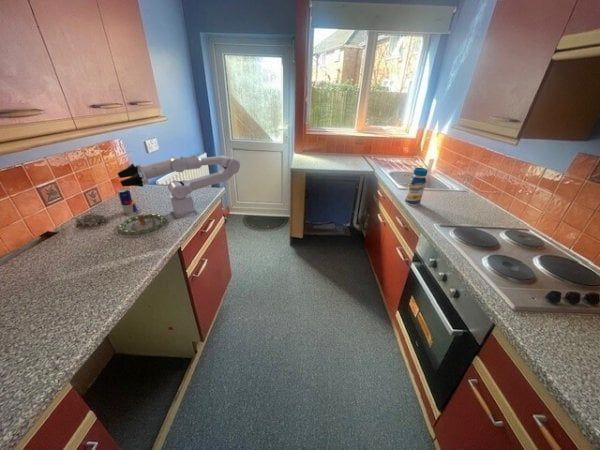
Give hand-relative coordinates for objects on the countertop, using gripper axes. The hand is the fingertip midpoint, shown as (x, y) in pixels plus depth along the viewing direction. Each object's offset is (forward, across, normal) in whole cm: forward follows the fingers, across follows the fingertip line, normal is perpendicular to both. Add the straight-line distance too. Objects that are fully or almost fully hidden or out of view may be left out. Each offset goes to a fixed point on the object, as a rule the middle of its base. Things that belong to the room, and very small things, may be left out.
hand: (119, 179), depth 102 cm
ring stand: (0, +10, +19) cm, 22 cm away
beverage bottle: (-129, +60, +30) cm, 145 cm away
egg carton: (+18, -5, +20) cm, 27 cm away
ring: (0, +9, +18) cm, 20 cm away
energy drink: (+3, -8, +23) cm, 24 cm away
